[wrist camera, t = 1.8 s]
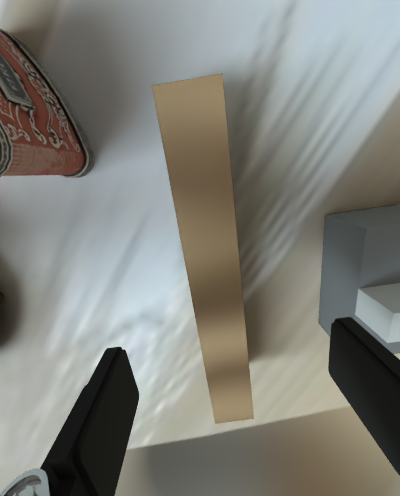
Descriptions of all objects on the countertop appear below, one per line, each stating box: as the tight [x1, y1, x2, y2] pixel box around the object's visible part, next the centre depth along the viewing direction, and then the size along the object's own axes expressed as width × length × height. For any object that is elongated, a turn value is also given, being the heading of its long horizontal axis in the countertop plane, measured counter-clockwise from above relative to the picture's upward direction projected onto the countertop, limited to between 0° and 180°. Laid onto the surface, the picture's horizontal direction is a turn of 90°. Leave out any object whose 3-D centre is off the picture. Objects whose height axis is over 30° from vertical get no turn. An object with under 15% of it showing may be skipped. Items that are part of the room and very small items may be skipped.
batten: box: [152, 74, 254, 424], centre depth 15 cm, size 22×3×5 cm, turn 8°
